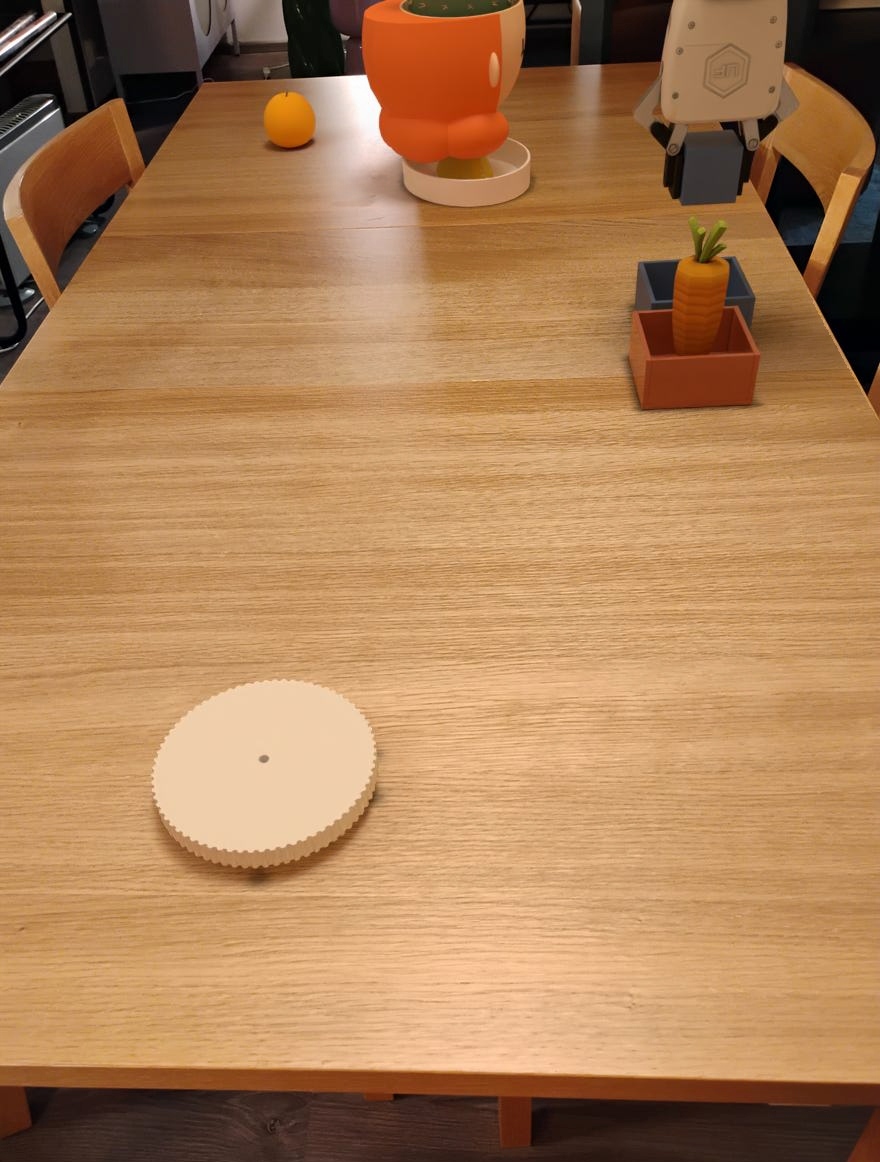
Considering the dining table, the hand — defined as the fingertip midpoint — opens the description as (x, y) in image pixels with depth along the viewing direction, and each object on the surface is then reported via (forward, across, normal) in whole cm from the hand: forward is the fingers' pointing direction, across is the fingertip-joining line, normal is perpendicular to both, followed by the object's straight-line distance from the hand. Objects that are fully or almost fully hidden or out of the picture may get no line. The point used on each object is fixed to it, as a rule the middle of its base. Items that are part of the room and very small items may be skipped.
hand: (704, 190), depth 98 cm
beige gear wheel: (+14, -36, -61) cm, 72 cm away
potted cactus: (+14, -25, +46) cm, 54 cm away
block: (0, 0, 0) cm, 0 cm away
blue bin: (+14, 0, 0) cm, 14 cm away
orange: (+14, -50, +68) cm, 86 cm away
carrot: (+13, -2, -12) cm, 18 cm away
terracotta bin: (+14, -2, -12) cm, 18 cm away
